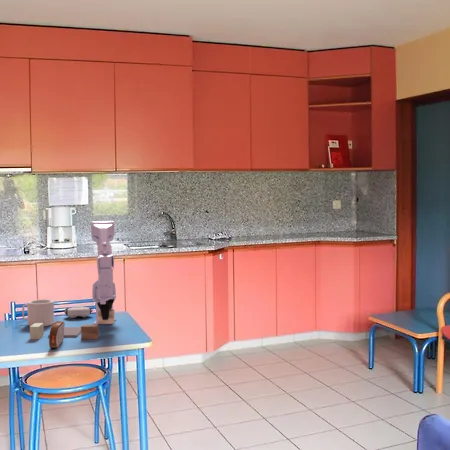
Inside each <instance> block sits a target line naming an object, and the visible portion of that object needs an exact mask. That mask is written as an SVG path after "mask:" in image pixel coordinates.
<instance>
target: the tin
mask: <svg viewBox="0 0 450 450" xmlns="http://www.w3.org/2000/svg"><path fill="white" fill-rule="evenodd" d="M64 327H65V322H64V321H62V320H60V321H58V320H56V321H54V323H53V324H52V325H51V327H50V331H49V334H50V335H49V334H48V335H49V337H48V345H49V348H50V349H58V348H59V347H60V346H61V344H62V343H63V341H64V339H65V337H64Z"/></svg>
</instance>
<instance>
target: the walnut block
mask: <svg viewBox="0 0 450 450" xmlns="http://www.w3.org/2000/svg"><path fill="white" fill-rule="evenodd" d="M80 327H81V333H80V337H81V338H80V340H98V338H99V336H100V335H99V324H94V323H93V324H92V323H91V324H82V325H81V326H80Z"/></svg>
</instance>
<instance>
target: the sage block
mask: <svg viewBox="0 0 450 450" xmlns="http://www.w3.org/2000/svg"><path fill="white" fill-rule="evenodd" d="M44 327H45V326H43V323H34V324H33V325H31V326H29V340H40V339H41V338H42V337H44V336H43V335H45V331H44V330H45V328H44Z"/></svg>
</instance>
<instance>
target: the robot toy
mask: <svg viewBox="0 0 450 450" xmlns="http://www.w3.org/2000/svg"><path fill="white" fill-rule="evenodd" d="M93 310H94V309H91V308H90V307H89V306H83V305H73V306H71V307H66V308H65V309H64V314H65V315H66V316H68V317H69V318H71V319H75V318H77V317H80V318H83V317H84V318H87V317H88V316H90V315H91V314H92V312H94V311H93Z"/></svg>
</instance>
